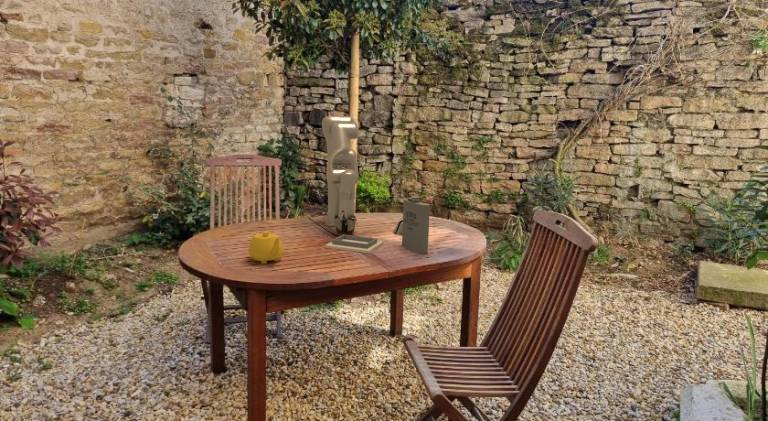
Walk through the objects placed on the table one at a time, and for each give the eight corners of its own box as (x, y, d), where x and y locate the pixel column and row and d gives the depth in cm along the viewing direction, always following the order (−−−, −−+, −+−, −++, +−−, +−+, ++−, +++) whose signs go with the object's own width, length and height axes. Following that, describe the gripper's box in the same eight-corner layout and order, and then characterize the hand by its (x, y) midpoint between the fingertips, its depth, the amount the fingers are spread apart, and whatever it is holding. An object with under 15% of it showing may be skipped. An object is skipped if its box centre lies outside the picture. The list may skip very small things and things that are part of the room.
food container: (360, 234, 259) (361, 215, 257) (355, 237, 253) (355, 217, 251) (339, 231, 263) (339, 212, 261) (333, 234, 258) (333, 215, 255)
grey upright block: (399, 245, 240) (400, 193, 235) (406, 244, 243) (408, 193, 238) (421, 254, 226) (423, 199, 221) (429, 253, 228) (431, 199, 224)
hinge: (416, 229, 274) (421, 213, 270) (421, 234, 271) (426, 218, 266) (392, 232, 265) (396, 216, 260) (396, 237, 262) (401, 221, 257)
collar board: (325, 247, 233) (325, 240, 232) (342, 238, 249) (342, 232, 249) (368, 253, 225) (369, 246, 225) (383, 244, 242) (383, 237, 241)
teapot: (265, 269, 199) (265, 239, 196) (240, 258, 213) (240, 229, 211) (294, 263, 208) (294, 234, 206) (268, 252, 222) (268, 225, 220)
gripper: (348, 192, 262) (347, 226, 266) (333, 197, 247) (332, 233, 251) (361, 194, 260) (360, 228, 264) (347, 199, 244) (346, 235, 248)
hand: (347, 230), depth 257 cm, fingers closed on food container, 5 cm apart
